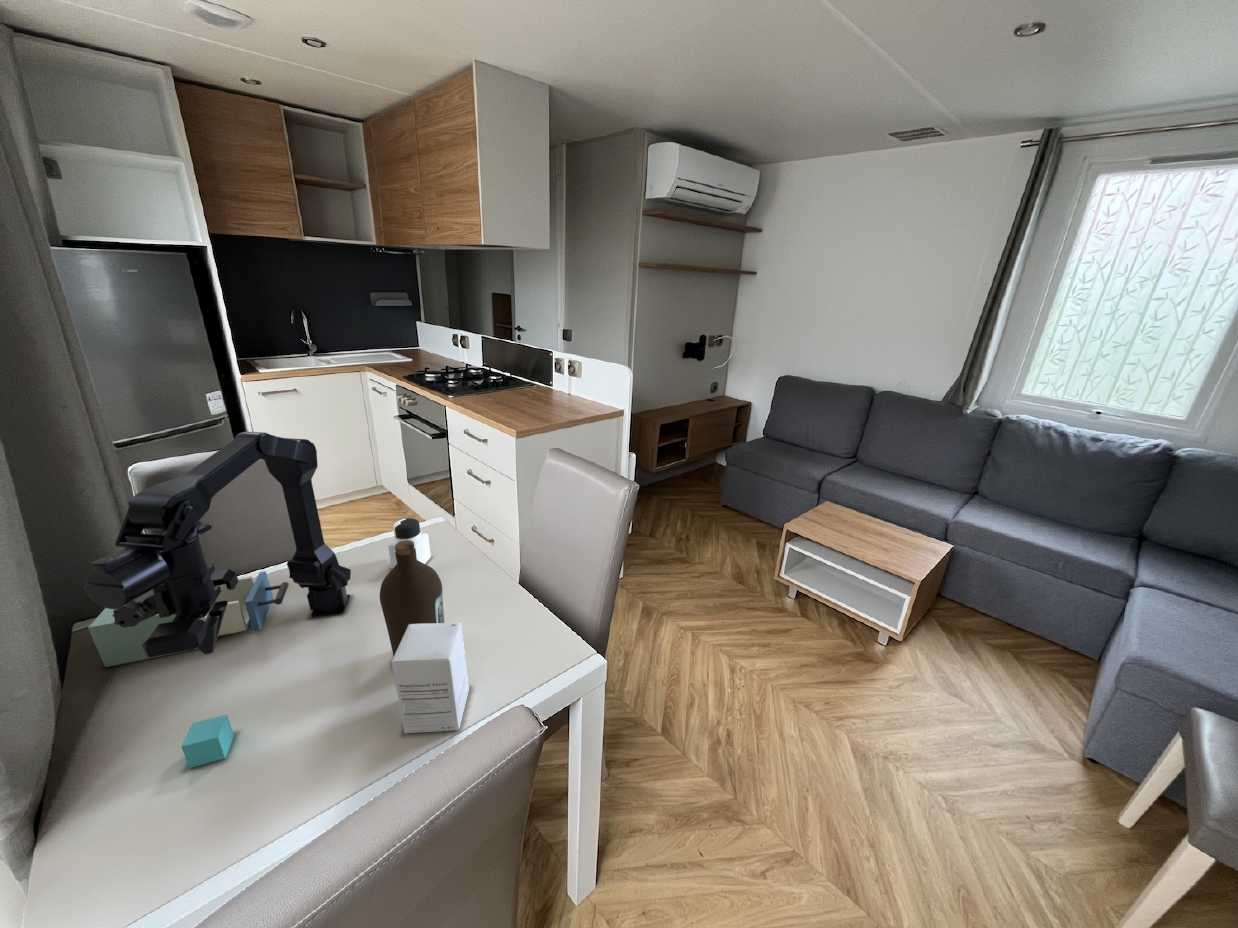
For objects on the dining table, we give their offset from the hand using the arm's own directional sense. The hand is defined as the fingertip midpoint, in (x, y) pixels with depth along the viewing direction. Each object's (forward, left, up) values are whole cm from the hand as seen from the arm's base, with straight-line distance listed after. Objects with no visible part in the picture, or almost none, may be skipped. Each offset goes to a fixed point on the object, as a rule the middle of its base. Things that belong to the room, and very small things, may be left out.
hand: (209, 652), depth 80 cm
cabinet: (+19, -23, -12) cm, 32 cm away
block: (-2, +9, -12) cm, 15 cm away
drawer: (+7, -24, -11) cm, 27 cm away
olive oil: (-31, -5, -12) cm, 33 cm away
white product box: (-35, +9, -12) cm, 38 cm away
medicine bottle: (-25, -41, -12) cm, 49 cm away
